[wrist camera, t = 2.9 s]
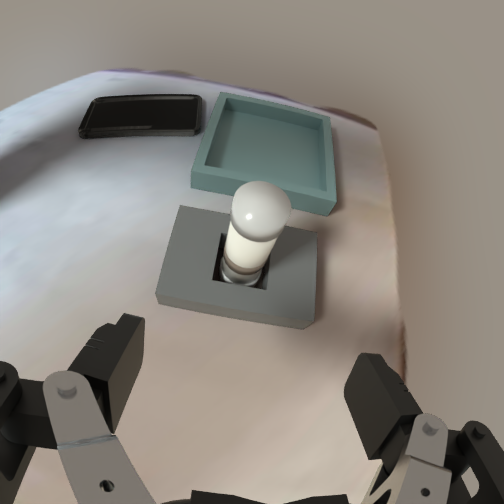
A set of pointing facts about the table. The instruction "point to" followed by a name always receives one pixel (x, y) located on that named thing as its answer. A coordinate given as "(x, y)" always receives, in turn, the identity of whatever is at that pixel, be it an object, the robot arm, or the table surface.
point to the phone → (142, 116)
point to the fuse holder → (230, 295)
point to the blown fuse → (253, 231)
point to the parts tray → (267, 152)
